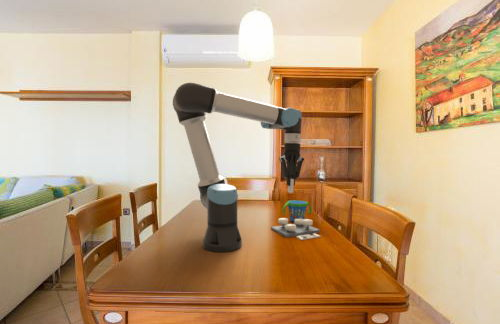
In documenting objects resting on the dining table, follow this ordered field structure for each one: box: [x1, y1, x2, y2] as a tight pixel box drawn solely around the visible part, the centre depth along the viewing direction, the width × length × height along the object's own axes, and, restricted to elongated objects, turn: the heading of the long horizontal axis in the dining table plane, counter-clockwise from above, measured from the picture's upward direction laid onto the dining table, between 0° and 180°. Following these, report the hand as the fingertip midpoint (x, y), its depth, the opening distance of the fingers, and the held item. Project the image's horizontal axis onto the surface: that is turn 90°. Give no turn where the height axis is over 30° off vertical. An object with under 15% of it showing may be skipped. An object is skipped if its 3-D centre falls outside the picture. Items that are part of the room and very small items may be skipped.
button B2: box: [293, 219, 303, 226], centre depth 134 cm, size 5×5×3 cm
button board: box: [271, 223, 321, 238], centre depth 130 cm, size 18×13×1 cm
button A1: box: [285, 223, 296, 232], centre depth 125 cm, size 5×5×3 cm
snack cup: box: [282, 199, 312, 223], centre depth 147 cm, size 16×10×10 cm
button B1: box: [302, 218, 314, 228], centre depth 128 cm, size 5×5×3 cm
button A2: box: [277, 217, 289, 227], centre depth 130 cm, size 5×5×3 cm
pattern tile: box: [295, 233, 322, 241], centre depth 120 cm, size 10×4×1 cm, turn 115°
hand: (290, 192), depth 133 cm, fingers closed
